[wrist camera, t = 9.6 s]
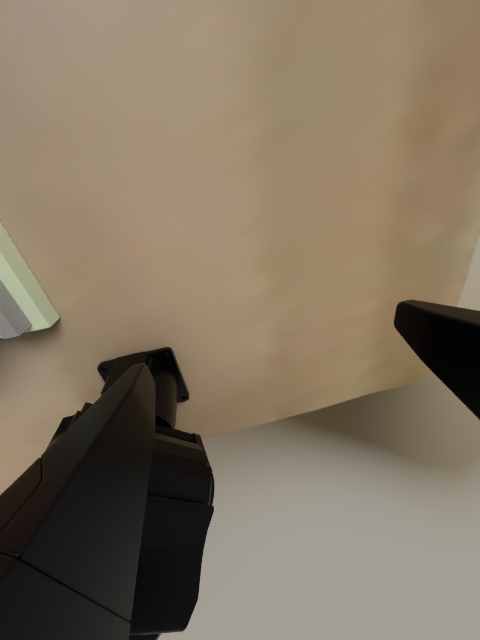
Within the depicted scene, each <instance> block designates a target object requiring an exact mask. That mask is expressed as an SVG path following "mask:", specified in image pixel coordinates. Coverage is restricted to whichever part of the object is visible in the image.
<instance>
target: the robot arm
mask: <svg viewBox="0 0 480 640" xmlns="http://www.w3.org/2000/svg"><path fill="white" fill-rule="evenodd" d="M394 326H395V328H396V330H397V331H398V332H399V333H400V335H401V336H402V337H403V338H404V339H405V341H406V342H407V343H408V344H409V346H410V347H411V348H412V349H413V351H414V352H415V353H416V354H417V356H418V357H419V358H420V359H421V360H422V361H423V362H424V364H425V365H426V366H427V367H428V368H429V369H430V370H431V371H432V372H433V373H434V374H435V375H436V376H437V377H438V378H439V379H440V380H441V381H442V382H443V383H444V384H445V385H446V386H447V387H448V388H449V389H450V390H451V391H452V392H453V393H454V394H455V395H456V396H457V397H458V398H459V399H460V400H461V401H462V402H463V403H464V404H465V405H466V406H467V407H468V408H469V409H470V410H471V411H472V412H473V414H475V416H476V417H477V418H478V419H479V420H480V311H476V310H470V309H465V308H458V307H453V306H447V305H441V304H435V303H429V302H423V301H417V300H407V301H402V302H400V303H398V305H397V307H396V313H395V318H394ZM165 352H168V353H169V354H165ZM103 367H106V369H105V368H103ZM97 369H98V372H99V373H100V375H101V376H102V378H103V380H104V381H105V385H104V387H103V389H102V391H101V395H102V396H101V397H100V398H99V399H98V400H97V401H96V402H95V403H94V404H90V403H87V402H86V403H85V404H84V406H83V408H82V410H81V411H77V413H76V414H75V415H73V416H69V417H65V418H63V420H62V422H61V423H60V425H59V427H58V429H57V431H56V433H55V434H54V436H53V438H52V440H51V442H50V443H49V445H48V447H47V449H46V451H45V452H44V453H43V454H42V456H41V458H38V459H37V460H36V461H35V462H34V463H33V464H32V465H31V466H30V467H29V468H28V469H27V470H26V471H25V472H24V473H23V474H22V475H21V476H20V477H19V478H18V479H17V480H16V481H15V482H14V483H13V484H12V485H11V486H10V487H9V488H7V489H6V490H5V491H4V492H3V493H2V494H1V495H0V640H158V638H159V636H160V635H161V633H170V632H181V631H184V630H185V629H186V627H187V625H188V623H189V620H190V618H191V615H192V613H193V610H194V608H195V605H196V603H197V599H198V593H199V582H200V573H201V562H202V556H203V549H204V544H205V539H206V535H207V530H208V527H209V524H210V521H211V518H212V515H213V512H214V507H213V506H212V504H213V497H214V478H213V473H212V469H211V466H210V464H209V461H208V458H207V455H206V452H205V449H204V446H203V443H202V440H201V437H200V435H198V434H195V433H193V434H190V433H187V432H183V431H180V430H176V429H175V423H176V408H177V403H179V402H183V401H186V400H188V399H189V392H188V389H187V387H186V384H185V381H184V379H183V376H182V374H181V371H180V368H179V366H178V363H177V360H176V358H175V355H174V353H173V350H172V349H171V348H169V347H165V348H161V349H156V350H152V351H148V352H140V353H135V354H131V355H127V356H122V357H118V358H116V359H113V360H109V361H105V362H101V363H100V364H99V366H98V368H97Z"/></svg>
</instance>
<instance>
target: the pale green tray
mask: <svg viewBox="0 0 480 640" xmlns="http://www.w3.org/2000/svg"><path fill="white" fill-rule="evenodd" d="M59 318H60V317H59V315H58V313H57V312H56V310H55V309H54V307H53V305H52V304H51V302H50V301H49V299H48V297H47V296H46V294H45V293H44V291H43V289H42V288H41V286H40V285H39V283H38V281H37V280H36V278H35V277H34V275H33V273H32V272H31V270H30V269H29V267H28V265H27V264H26V262H25V261H24V259H23V257H22V256H21V254H20V252H19V251H18V249H17V248H16V246H15V244H14V243H13V241H12V240H11V238H10V236H9V235H8V233H7V232H6V230H5V228H4V227H3V225H2V224H1V222H0V338H3V339H7V338H12V337H17V336H20V335H21V334H22V333H26V332H31V331H36V330H40V329H45V328H49V327H51V326H52V325H53V324H54V323H55V322H56V321H57V320H58V319H59Z"/></svg>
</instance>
